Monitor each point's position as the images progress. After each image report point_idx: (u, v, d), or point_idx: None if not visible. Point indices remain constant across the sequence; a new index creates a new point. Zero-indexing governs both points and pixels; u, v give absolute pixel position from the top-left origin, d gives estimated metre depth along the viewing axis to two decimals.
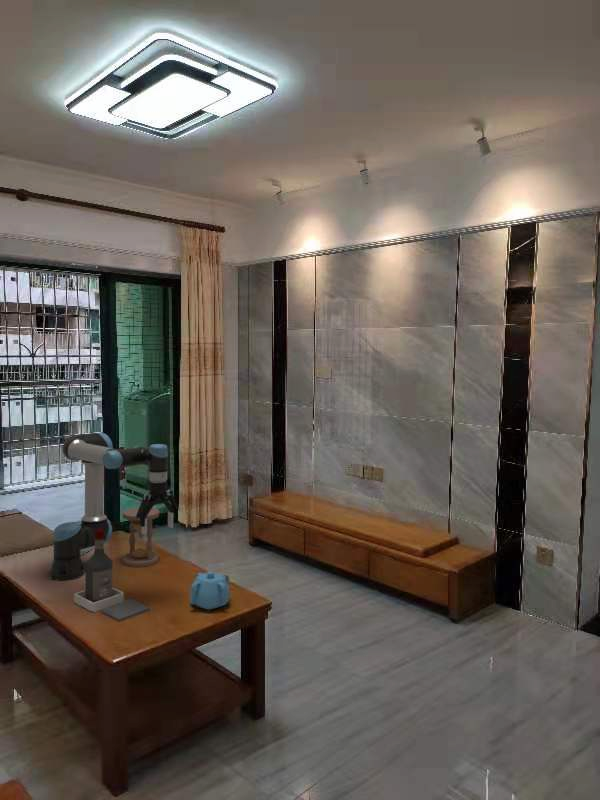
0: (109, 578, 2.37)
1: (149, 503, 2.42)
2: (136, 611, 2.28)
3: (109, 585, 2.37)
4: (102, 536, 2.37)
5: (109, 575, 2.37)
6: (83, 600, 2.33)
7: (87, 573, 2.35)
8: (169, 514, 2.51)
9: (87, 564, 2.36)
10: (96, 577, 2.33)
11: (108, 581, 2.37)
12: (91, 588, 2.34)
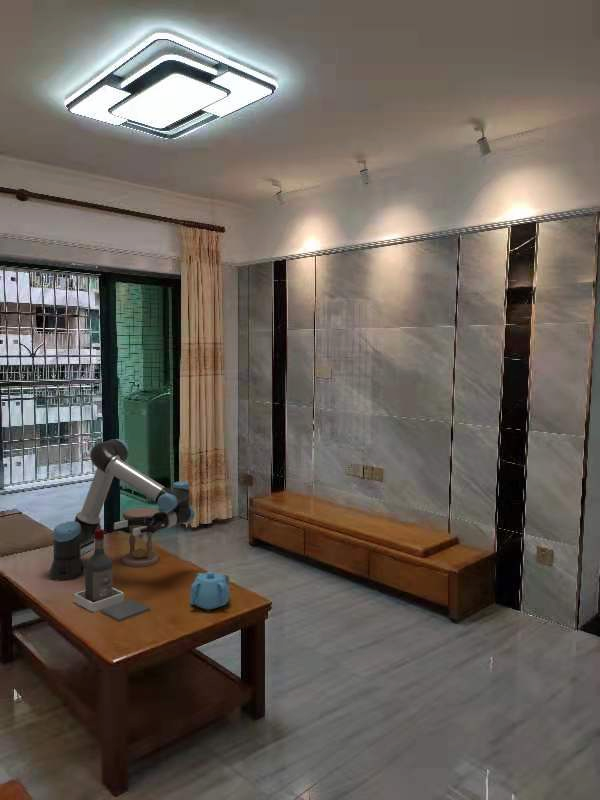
0: (109, 578, 2.37)
1: (153, 524, 2.53)
2: (136, 611, 2.28)
3: (109, 585, 2.37)
4: (102, 536, 2.37)
5: (109, 575, 2.37)
6: (83, 600, 2.33)
7: (87, 573, 2.35)
8: (125, 522, 2.55)
9: (87, 564, 2.36)
10: (96, 577, 2.33)
11: (108, 581, 2.37)
12: (91, 588, 2.34)
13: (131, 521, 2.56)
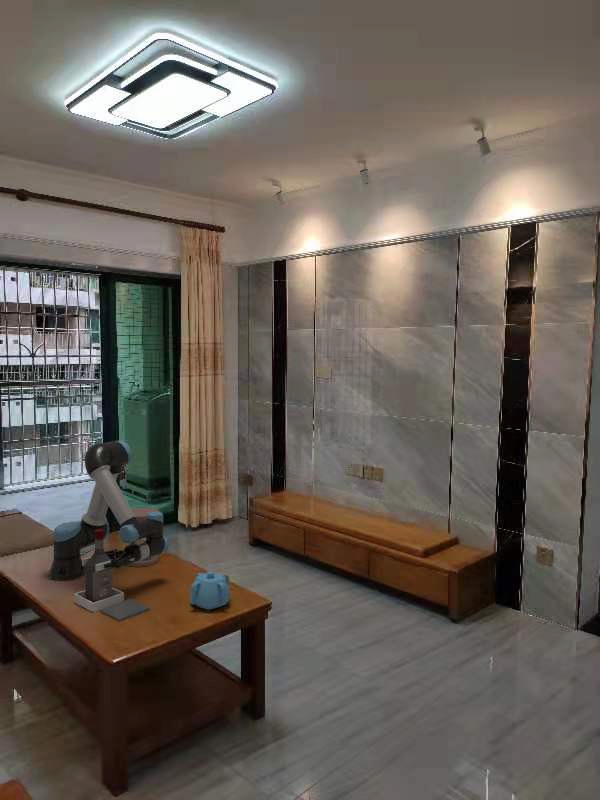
0: (109, 578, 2.37)
1: (122, 558, 2.42)
2: (136, 611, 2.28)
3: (109, 585, 2.37)
4: (102, 536, 2.37)
5: (109, 575, 2.37)
6: (83, 600, 2.33)
7: (87, 573, 2.35)
8: None
9: (87, 564, 2.36)
10: (96, 577, 2.33)
11: (108, 581, 2.37)
12: (91, 588, 2.34)
13: None
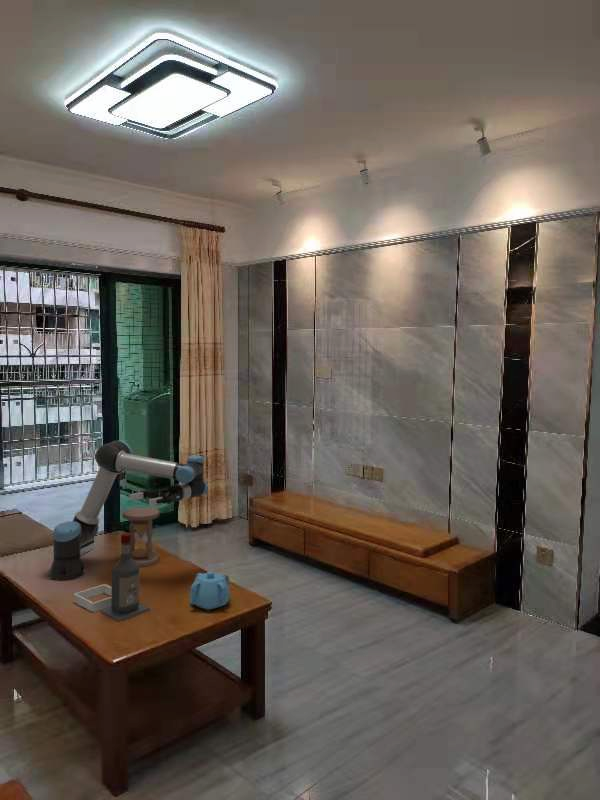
0: (136, 584, 2.29)
1: (168, 496, 2.56)
2: (136, 611, 2.28)
3: (136, 591, 2.29)
4: (129, 541, 2.28)
5: (136, 581, 2.29)
6: (83, 600, 2.33)
7: (113, 579, 2.27)
8: (141, 494, 2.57)
9: (113, 569, 2.27)
10: (123, 583, 2.25)
11: (135, 587, 2.29)
12: (117, 594, 2.26)
13: (146, 493, 2.59)
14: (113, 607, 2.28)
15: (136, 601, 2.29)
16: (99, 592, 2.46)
